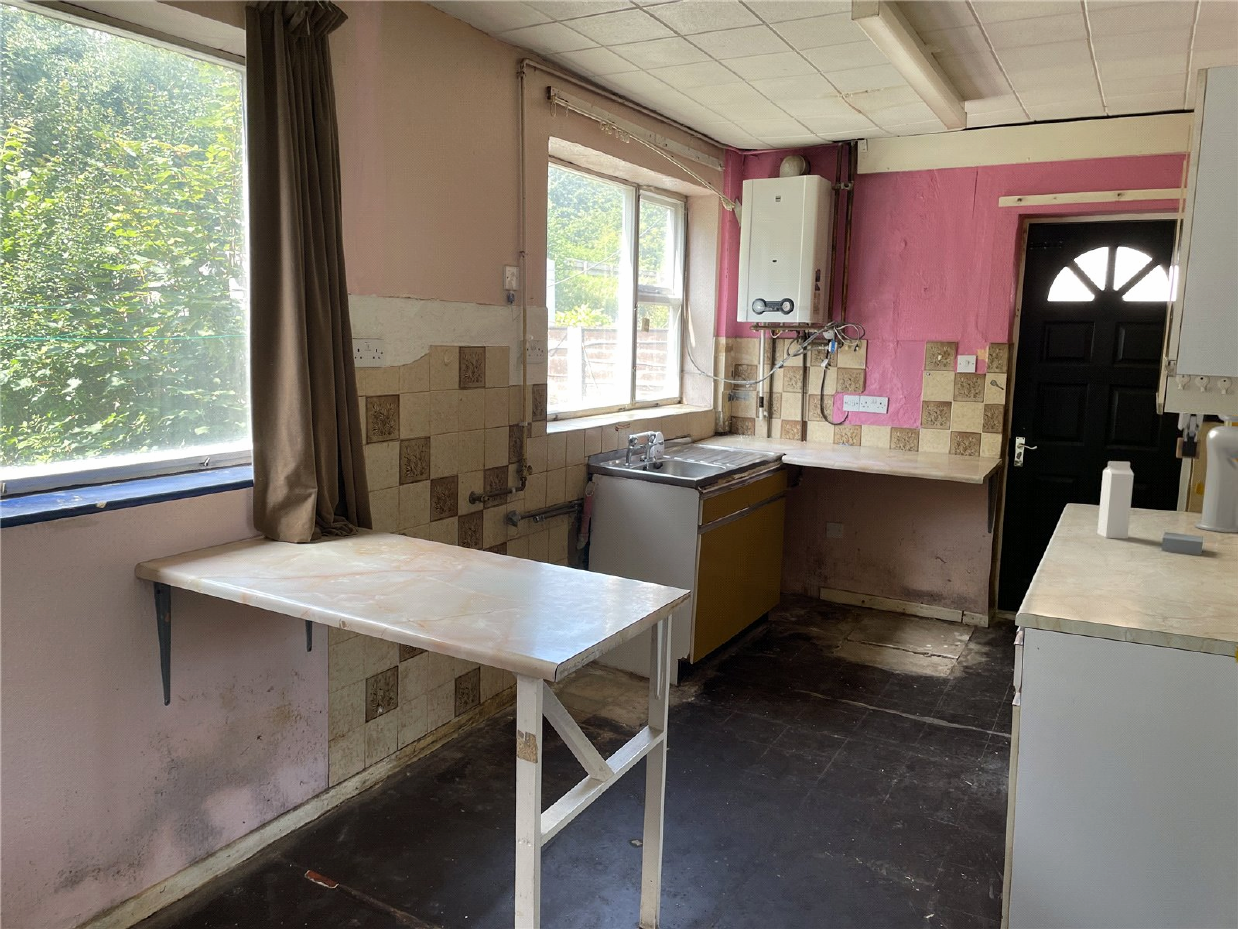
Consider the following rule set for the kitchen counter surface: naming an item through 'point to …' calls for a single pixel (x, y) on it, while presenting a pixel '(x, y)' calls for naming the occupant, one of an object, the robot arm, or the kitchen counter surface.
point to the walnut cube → (1179, 449)
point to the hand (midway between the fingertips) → (1187, 454)
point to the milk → (1115, 500)
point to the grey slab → (1182, 543)
